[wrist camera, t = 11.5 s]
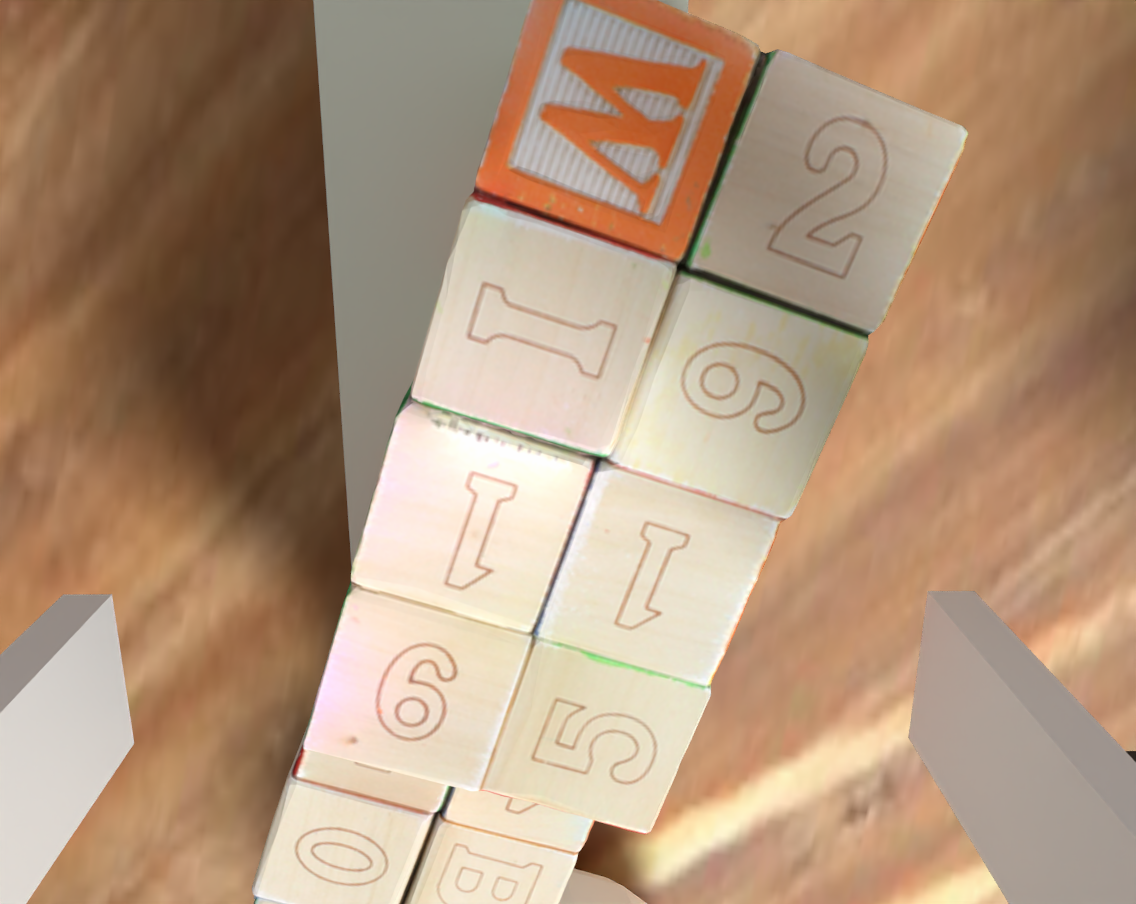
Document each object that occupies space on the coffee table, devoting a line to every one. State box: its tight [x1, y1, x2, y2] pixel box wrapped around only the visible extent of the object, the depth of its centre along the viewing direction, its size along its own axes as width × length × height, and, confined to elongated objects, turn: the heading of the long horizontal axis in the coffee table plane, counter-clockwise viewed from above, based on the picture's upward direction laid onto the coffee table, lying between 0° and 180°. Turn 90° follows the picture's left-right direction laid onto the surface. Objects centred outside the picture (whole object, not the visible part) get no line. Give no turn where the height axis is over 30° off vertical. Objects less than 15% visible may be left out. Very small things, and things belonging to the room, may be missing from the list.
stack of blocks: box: [252, 0, 968, 904], centre depth 21 cm, size 21×6×12 cm, turn 160°
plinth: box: [313, 0, 688, 567], centre depth 29 cm, size 9×24×5 cm, turn 0°
